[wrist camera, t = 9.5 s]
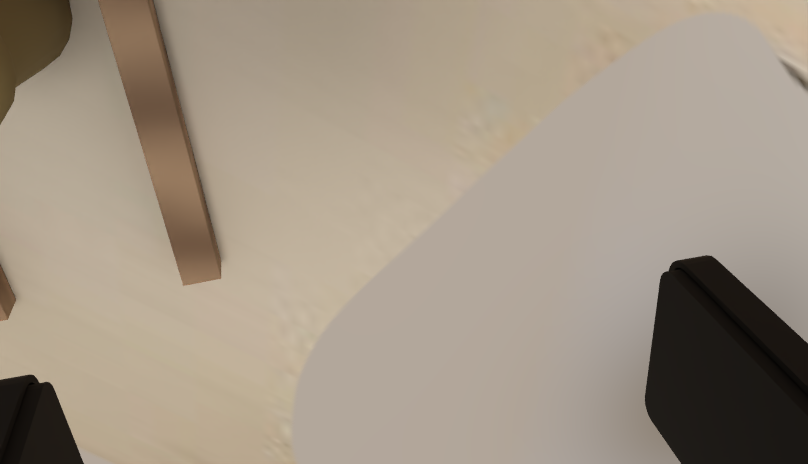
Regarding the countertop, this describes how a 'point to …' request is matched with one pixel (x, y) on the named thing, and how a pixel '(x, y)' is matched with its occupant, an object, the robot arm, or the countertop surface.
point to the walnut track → (157, 141)
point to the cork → (29, 41)
